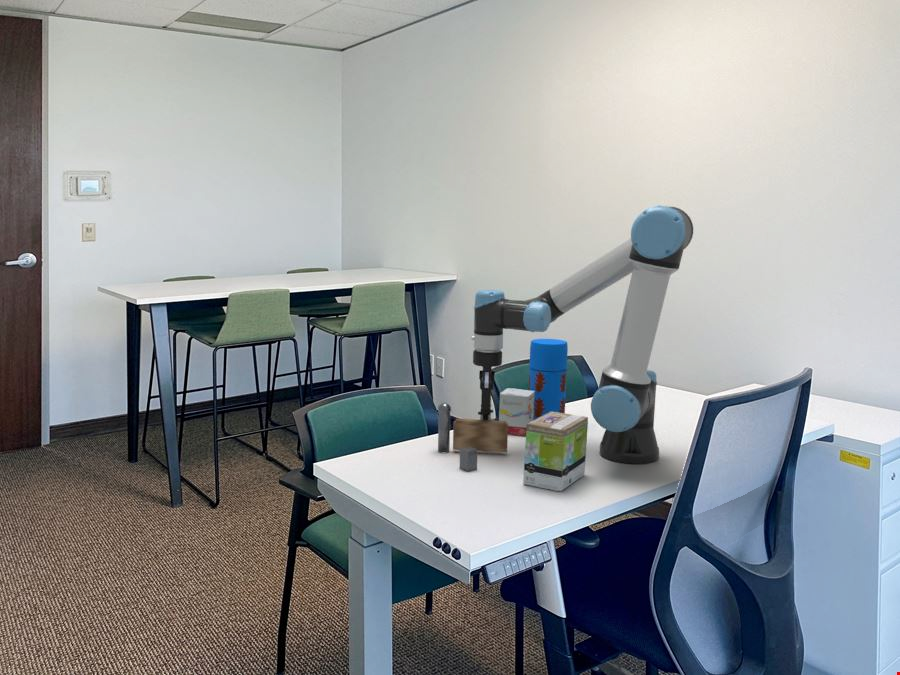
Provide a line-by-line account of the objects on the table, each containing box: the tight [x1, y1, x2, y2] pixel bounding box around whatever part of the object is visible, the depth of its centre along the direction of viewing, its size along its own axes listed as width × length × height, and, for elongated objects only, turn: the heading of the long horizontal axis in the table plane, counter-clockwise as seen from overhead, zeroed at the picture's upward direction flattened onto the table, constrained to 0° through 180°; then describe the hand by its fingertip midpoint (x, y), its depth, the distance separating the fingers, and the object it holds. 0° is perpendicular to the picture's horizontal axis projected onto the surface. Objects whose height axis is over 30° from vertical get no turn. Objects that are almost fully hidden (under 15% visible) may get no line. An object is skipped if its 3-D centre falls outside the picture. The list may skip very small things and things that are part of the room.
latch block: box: [459, 447, 479, 473], centre depth 198 cm, size 3×3×5 cm
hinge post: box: [437, 402, 452, 453], centre depth 212 cm, size 3×3×13 cm
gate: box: [452, 418, 509, 454], centre depth 211 cm, size 14×2×8 cm, turn 84°
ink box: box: [498, 387, 535, 437], centre depth 232 cm, size 9×9×12 cm
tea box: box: [522, 411, 589, 492], centre depth 191 cm, size 15×10×15 cm
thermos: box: [528, 338, 569, 420], centre depth 239 cm, size 11×11×25 cm
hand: (484, 437), depth 215 cm, fingers closed
